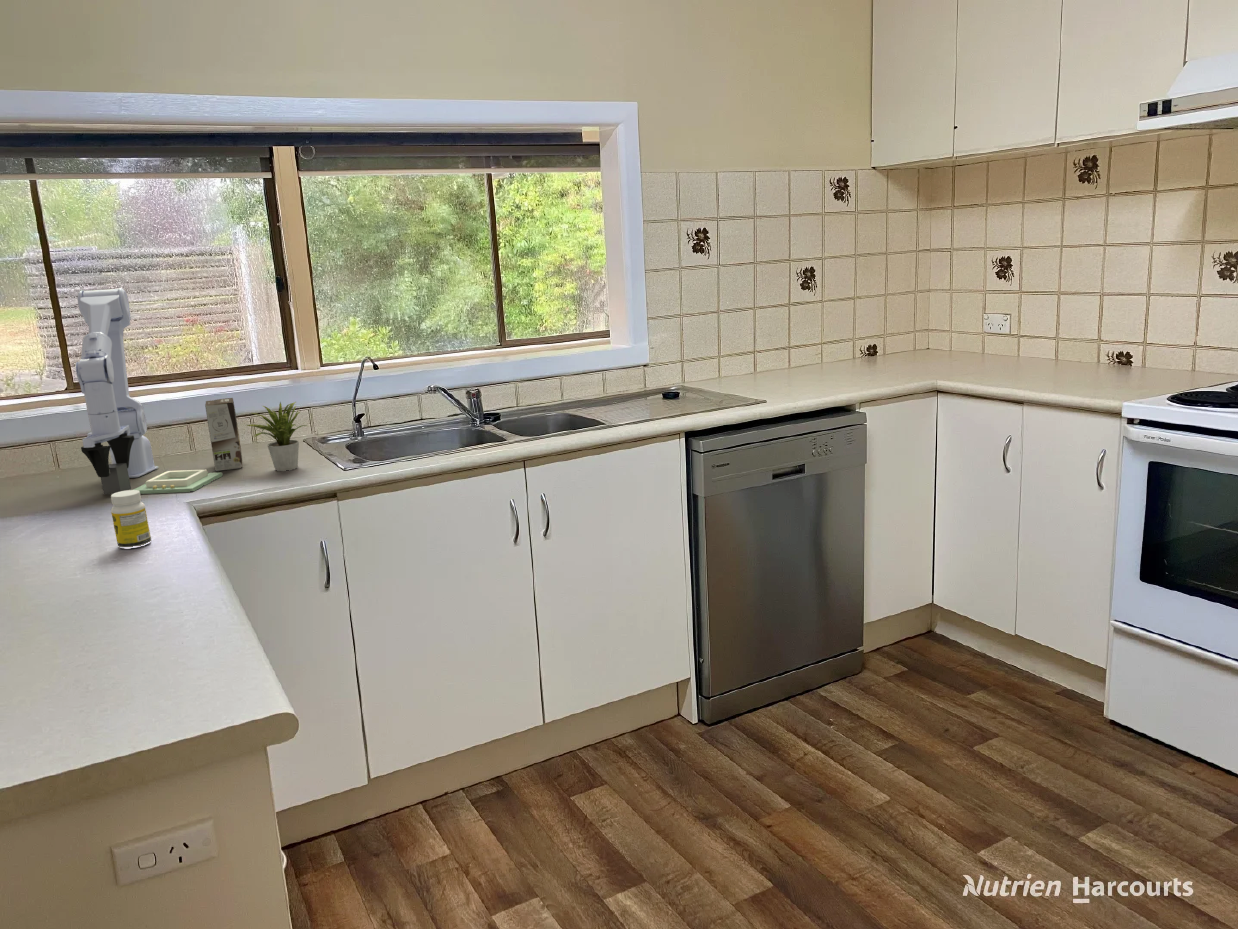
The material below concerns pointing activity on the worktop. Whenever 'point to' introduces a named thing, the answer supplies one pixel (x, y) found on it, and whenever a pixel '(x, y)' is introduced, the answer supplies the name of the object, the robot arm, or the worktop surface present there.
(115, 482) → the plug block
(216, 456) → the coffee box
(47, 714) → the worktop surface
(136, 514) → the supplement bottle
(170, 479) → the socket board
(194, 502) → the worktop surface
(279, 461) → the house plant
